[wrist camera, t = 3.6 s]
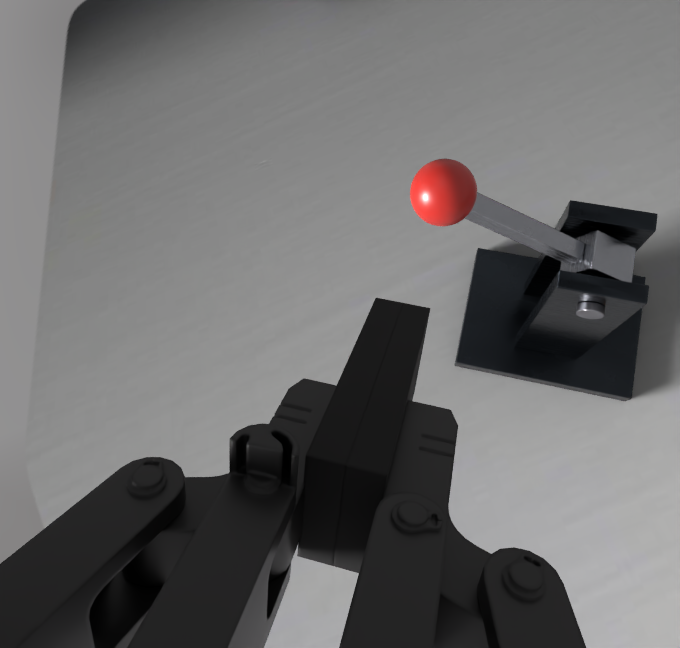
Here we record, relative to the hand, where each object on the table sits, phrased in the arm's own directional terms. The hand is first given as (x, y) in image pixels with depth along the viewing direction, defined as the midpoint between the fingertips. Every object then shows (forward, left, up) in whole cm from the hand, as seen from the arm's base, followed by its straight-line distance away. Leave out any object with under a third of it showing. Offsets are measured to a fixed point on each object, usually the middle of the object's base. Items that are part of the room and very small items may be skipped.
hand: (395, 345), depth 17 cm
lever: (+3, +10, -14) cm, 18 cm away
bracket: (+9, +10, -27) cm, 30 cm away
